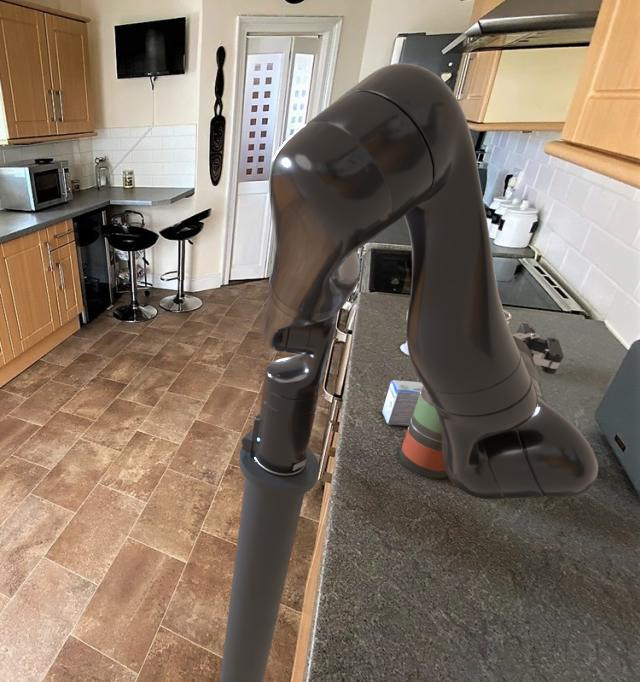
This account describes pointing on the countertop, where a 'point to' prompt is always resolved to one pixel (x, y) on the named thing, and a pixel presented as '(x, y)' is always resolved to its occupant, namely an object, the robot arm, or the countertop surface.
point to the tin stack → (424, 440)
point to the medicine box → (401, 402)
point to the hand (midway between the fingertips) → (484, 323)
